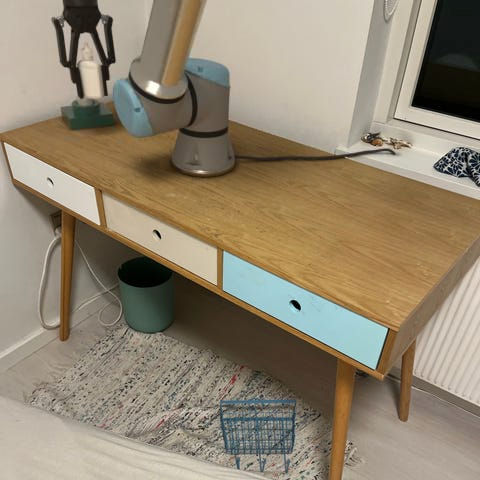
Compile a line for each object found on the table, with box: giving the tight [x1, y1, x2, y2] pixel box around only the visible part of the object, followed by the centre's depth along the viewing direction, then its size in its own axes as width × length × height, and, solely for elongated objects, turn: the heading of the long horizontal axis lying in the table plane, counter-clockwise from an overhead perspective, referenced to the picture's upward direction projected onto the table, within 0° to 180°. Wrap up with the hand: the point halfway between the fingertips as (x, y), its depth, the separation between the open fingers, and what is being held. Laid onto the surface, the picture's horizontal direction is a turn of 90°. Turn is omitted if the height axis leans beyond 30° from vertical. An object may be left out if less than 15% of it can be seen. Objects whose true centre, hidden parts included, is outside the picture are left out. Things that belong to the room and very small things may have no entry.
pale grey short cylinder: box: [76, 95, 94, 106], centre depth 138 cm, size 4×4×2 cm
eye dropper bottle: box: [76, 42, 105, 100], centre depth 121 cm, size 4×6×12 cm
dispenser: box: [59, 99, 115, 131], centre depth 140 cm, size 12×10×5 cm
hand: (92, 95), depth 125 cm, fingers closed on eye dropper bottle, 5 cm apart
